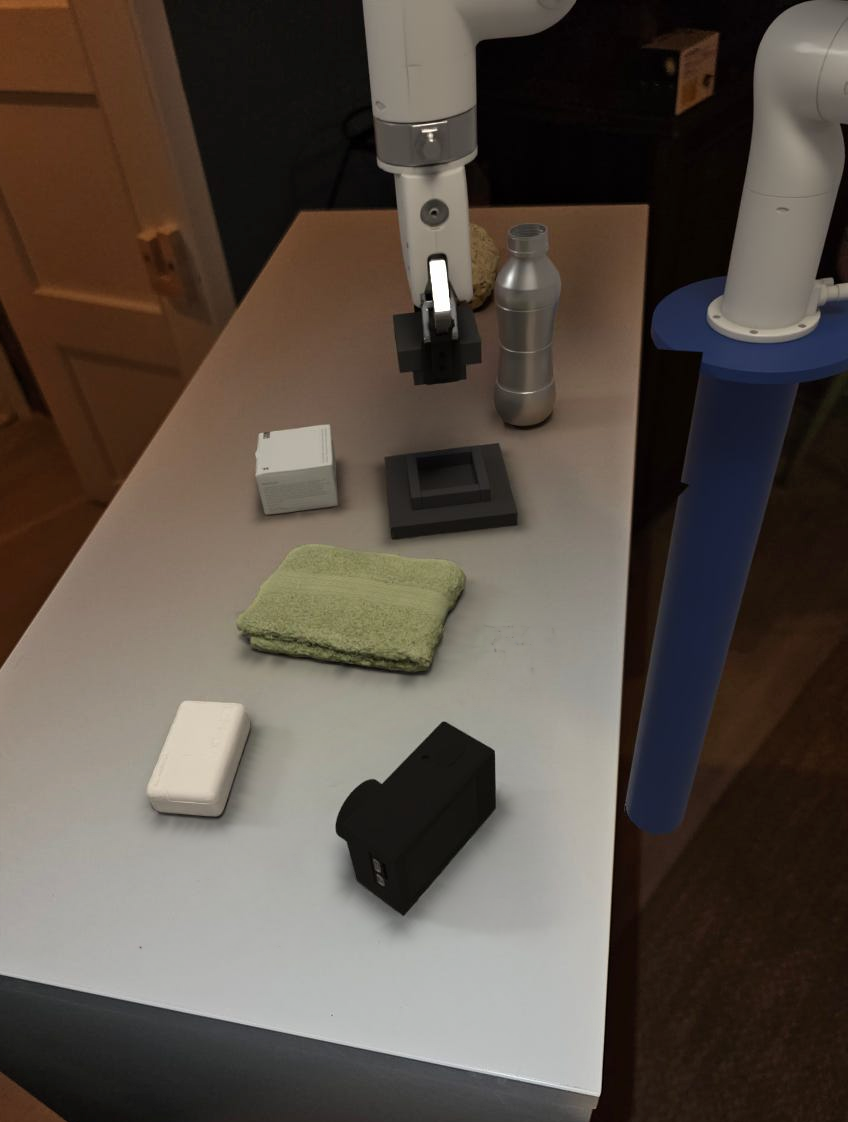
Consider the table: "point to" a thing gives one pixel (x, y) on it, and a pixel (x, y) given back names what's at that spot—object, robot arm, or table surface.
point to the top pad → (411, 333)
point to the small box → (296, 469)
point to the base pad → (449, 491)
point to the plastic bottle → (526, 327)
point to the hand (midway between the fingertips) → (438, 358)
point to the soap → (199, 758)
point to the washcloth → (354, 607)
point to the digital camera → (418, 815)
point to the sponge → (481, 266)
